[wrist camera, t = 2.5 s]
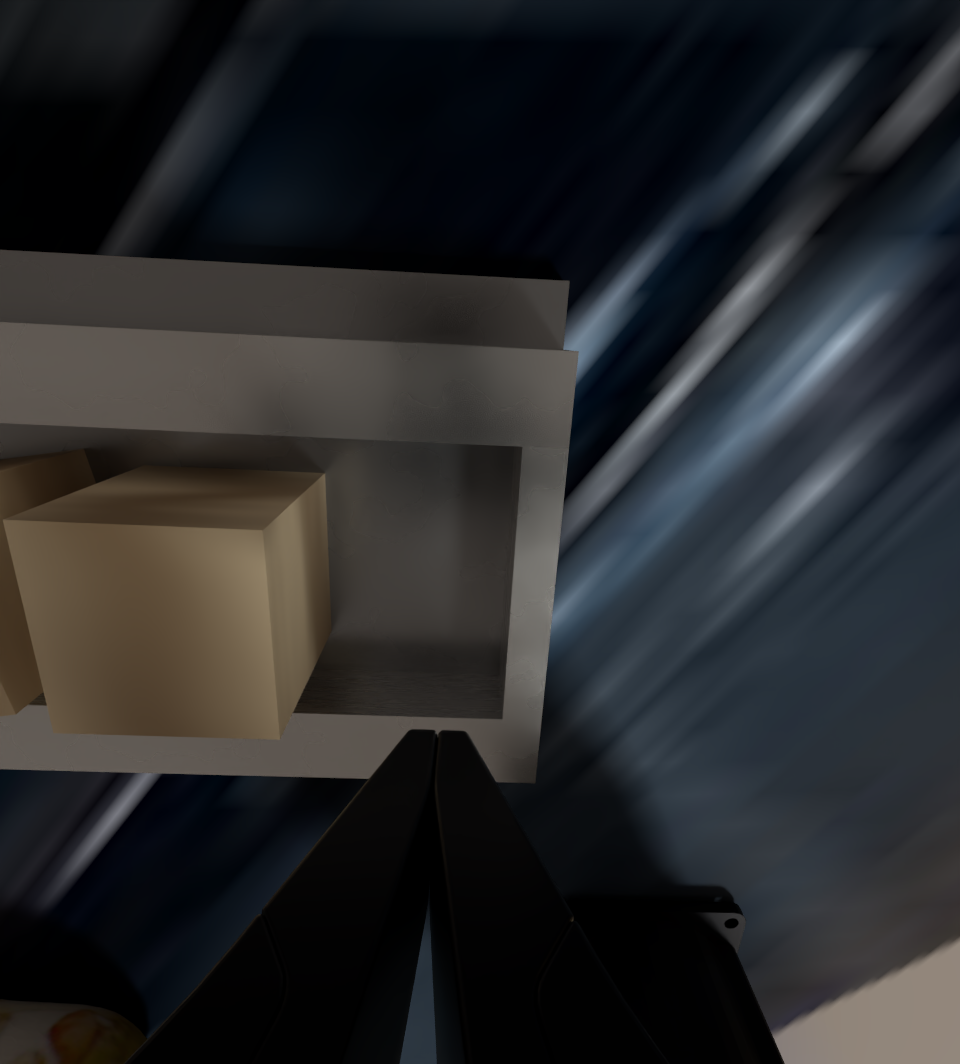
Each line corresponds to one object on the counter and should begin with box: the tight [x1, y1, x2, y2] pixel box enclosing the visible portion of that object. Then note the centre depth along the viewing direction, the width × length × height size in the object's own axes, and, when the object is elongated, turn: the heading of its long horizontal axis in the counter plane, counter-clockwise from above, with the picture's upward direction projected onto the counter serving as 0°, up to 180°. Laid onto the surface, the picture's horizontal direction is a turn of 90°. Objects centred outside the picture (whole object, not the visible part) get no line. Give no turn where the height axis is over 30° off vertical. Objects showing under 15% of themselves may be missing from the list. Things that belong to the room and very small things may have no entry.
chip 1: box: [3, 465, 332, 740], centre depth 13 cm, size 4×4×4 cm
